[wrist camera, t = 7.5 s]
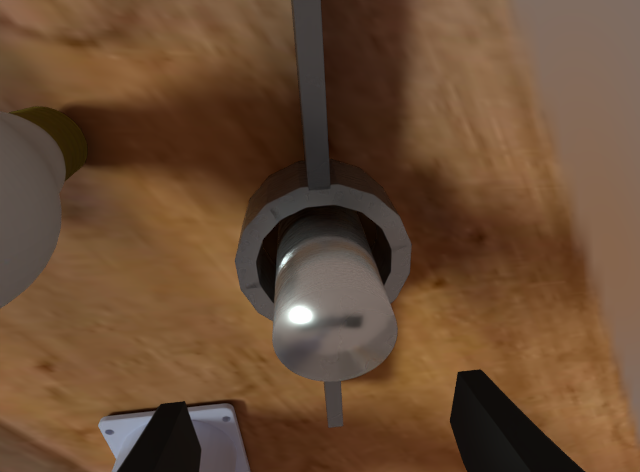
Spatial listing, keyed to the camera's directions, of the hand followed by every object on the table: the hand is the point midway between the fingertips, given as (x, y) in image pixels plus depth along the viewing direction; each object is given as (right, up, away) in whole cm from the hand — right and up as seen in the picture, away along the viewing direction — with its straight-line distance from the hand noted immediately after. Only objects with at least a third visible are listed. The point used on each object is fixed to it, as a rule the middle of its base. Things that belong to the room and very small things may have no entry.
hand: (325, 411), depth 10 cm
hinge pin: (0, +5, +8) cm, 9 cm away
